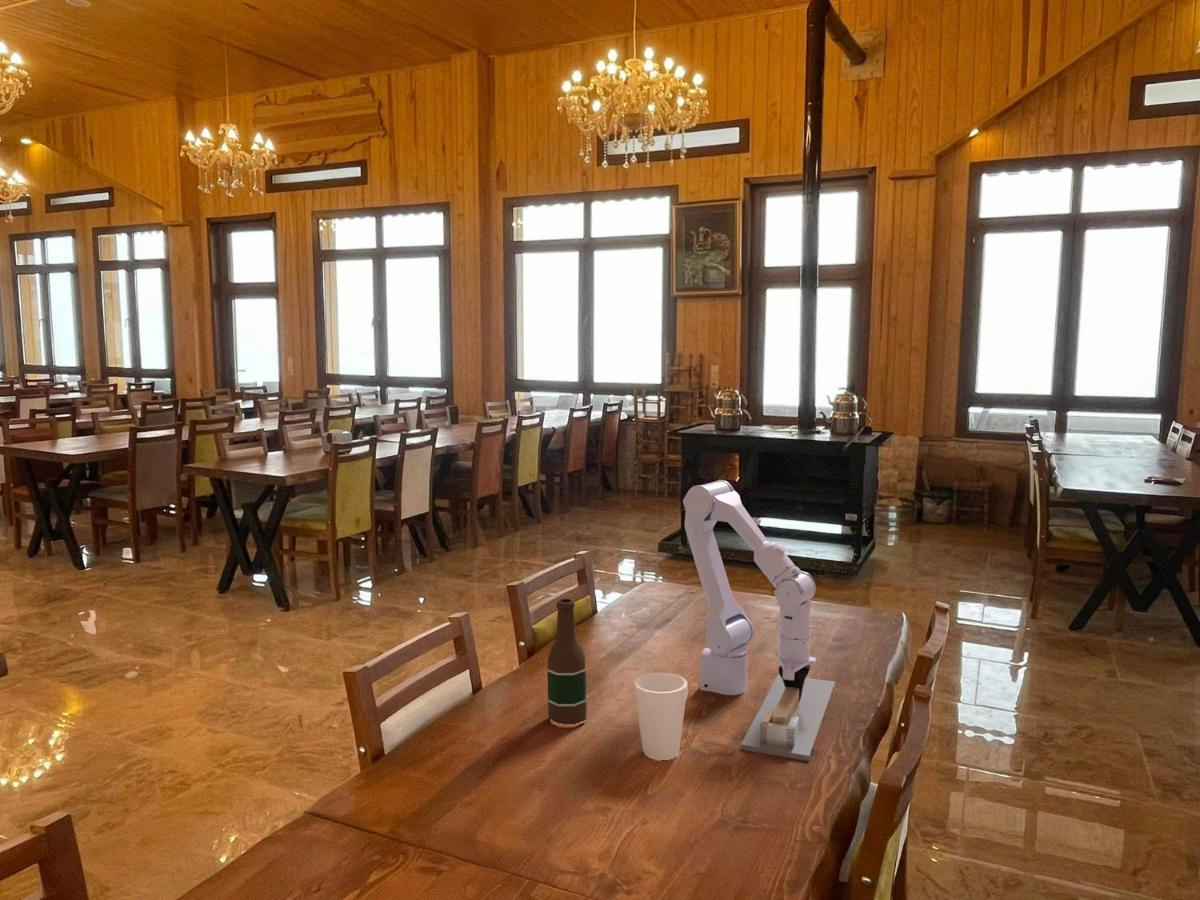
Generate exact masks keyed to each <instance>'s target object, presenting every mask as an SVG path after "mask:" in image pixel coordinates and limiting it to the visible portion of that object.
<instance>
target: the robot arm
mask: <svg viewBox="0 0 1200 900" xmlns="http://www.w3.org/2000/svg"><path fill="white" fill-rule="evenodd" d="M682 504H683V507H684V510H685V513H684V514H685V515H684V517H685V518H684V530H685V533H686V536H687V537H686V538H687V541H688V544H689V546H690V550H691V553H692V557H693V561H694V562H695V567H696V570H697V573H698V577H699V580H700V582H701V588H702V590H703V593H704V596H705V597H704V598H705V600H706V604H707V606H708V611H707V613H706V615H705V618H704V621H703V622H704V626H705V641H706V645H707V647H704V648H703V650H702V652H701V655H700V662H699V664H700V666H699V670H700V671H699V674H700V675H699V690H700V691H705V692H710V693H711V692H713V693H716V694H720V695H725V696H737V695H742V694H744V693H746V692H747V690H748V650H749V643H750V642H751V641H752V640H753V638H754V636H755V633H754V632H755V630H754V625H753V623H752V622H751V620H750V619H749V618H748V616H747V615H746V613H745V610H744V607H742V605H740V604H739V603H737V602H736V601H735V599H734V595H733V592H732V589H731V586H730V583H729V579H728V576H727V573H726V569H725V566H724V563H723V559H722V556H721V552H720V550H719V546H718V542H717V539H716V536H715V533H714V527H715V525H716V523H717V522H718V521H719V522H720V521H721V522H725V523H728V524H729V525H730V526H731V527H732V528H733V529H734V531H735V532H736V534H738V535H739V536H740V538H742V539H743V541H744V542H745V543H746V544H747V545H748V547H750V548H751V550H752V551H753V561H754V563H755V564H756V565H757V567H758V568H759V569H760V570H761V572H762V573H763V574H764V575H765V576H766V577H767V579H768V580H769V582H770V583H771V584H772V585H773V587H774V588H775V589H774V592H773V593H774V597H775V599H776V601H777V603H778V604H779V613H780V614H779V617H780V618H779V619H780V621H779V654H778V661H779V664H780V665H779V667H778V674H780V676H781V678H782V680H783V682H784V685H785V688H786V687H792V688H799V702H800V699H801V695H802V690H803V685H804V681H805V678H807V676H808V674H809V673H810V669H811V665H815V664H816V662H817V658H816V657H813V656H810V653H811V650H810V649H811V599H813V597H814V596H815V594H816V590H817V587H816V582H815V580H814V579H813V576H812V575H811V574H810V573H809V572H806V571H802V570H801V568H799V567H798V566H796V565H795V564H794V562H793V561H792V560H791V559H790V557H789V555H787V553H786V548H784V546H783V545H779V544H778V543H777V542H774V541H773V542H772V541H769V540H768V539H767V537H765V535H764V533H763V532H762V530H761V529H760V528H759V526H758V525H757V524H756V522H755V521H754V520H753V518H752V517H751V515H750V514H749V512H748V511H747V510H746V508H745V506H744V505H743V503H742V500H741V497H740V494H739V493H738V492H737V491H736V490H735V489H734V487H733V486H732V485H731V484H730V482H728V481H727V480H724V479H718V480H715V481H713V482H709V483H705V484H700V485H699V484H698V485H693V486H692V487H691V488H689V490H688V491H687V493H686V494H685V496H684V498H683V500H682ZM706 685H707V686H706Z"/></svg>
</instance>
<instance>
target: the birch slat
mask: <svg viewBox="0 0 1200 900" xmlns="http://www.w3.org/2000/svg"><path fill="white" fill-rule="evenodd" d="M798 711H799V688H792V687H786V688H785V690H784V692H783V694H782V696H781V699H780V701H779V703H778V705H777V707H776V709H775V711H774V713H773V716H772V723H774V724H781V725H787V726H788V725H789V722H790V720H791V718H792V715H793V716H797V714H798Z"/></svg>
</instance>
